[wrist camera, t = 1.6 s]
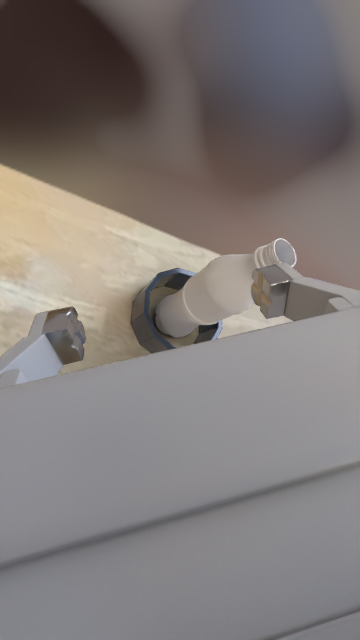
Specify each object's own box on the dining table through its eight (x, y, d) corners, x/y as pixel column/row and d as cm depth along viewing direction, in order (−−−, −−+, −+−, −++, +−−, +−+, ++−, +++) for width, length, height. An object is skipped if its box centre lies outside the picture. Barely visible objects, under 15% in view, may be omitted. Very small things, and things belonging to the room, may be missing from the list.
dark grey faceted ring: (114, 324, 41) (125, 314, 36) (159, 268, 48) (174, 252, 43) (179, 375, 44) (198, 372, 39) (214, 316, 51) (234, 307, 46)
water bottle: (149, 297, 45) (251, 209, 24) (186, 302, 49) (304, 228, 27) (150, 339, 43) (261, 282, 22) (188, 341, 47) (317, 293, 26)
